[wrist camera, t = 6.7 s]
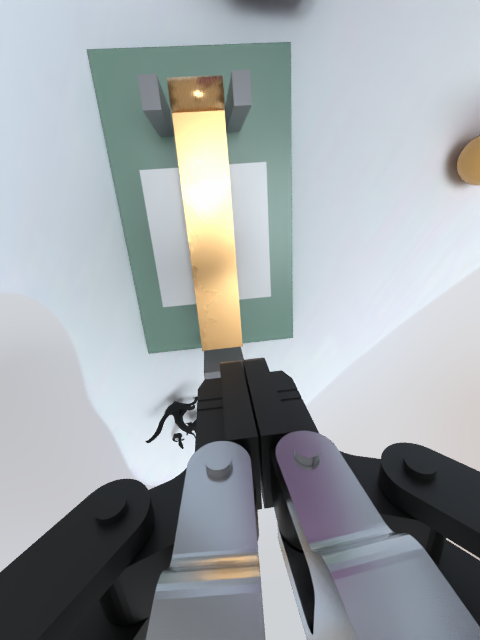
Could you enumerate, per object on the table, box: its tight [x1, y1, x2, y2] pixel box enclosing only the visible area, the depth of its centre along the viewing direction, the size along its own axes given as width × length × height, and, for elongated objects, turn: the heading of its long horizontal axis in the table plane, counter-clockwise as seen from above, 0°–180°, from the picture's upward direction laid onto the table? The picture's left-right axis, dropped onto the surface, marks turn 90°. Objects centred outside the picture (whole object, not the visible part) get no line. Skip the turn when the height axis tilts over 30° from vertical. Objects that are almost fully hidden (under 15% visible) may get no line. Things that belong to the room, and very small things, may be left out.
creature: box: [146, 397, 198, 449], centre depth 31 cm, size 8×5×8 cm
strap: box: [167, 75, 243, 351], centre depth 20 cm, size 17×3×2 cm, turn 4°
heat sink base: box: [87, 42, 293, 379], centre depth 22 cm, size 23×14×9 cm, turn 4°
